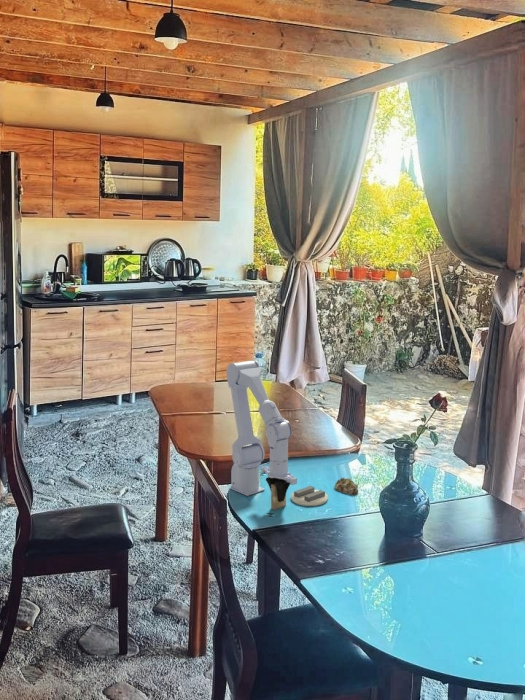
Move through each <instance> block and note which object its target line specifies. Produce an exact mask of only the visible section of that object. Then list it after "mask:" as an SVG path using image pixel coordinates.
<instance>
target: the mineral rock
mask: <svg viewBox="0 0 525 700" xmlns="http://www.w3.org/2000/svg"><path fill="white" fill-rule="evenodd" d="M333 487H334V490H336V491H337V492H339V493H340V492H341V493H344V494H346V495H354V496H355V495H358V493H359V489H358V484H356V483H355V482H354V481H353V480H351V478H349V477H347V478H345V477H341V478H340V479H338V480H337V481H336V482H335V485H334V486H333Z"/></svg>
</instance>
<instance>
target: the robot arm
mask: <svg viewBox="0 0 525 700" xmlns="http://www.w3.org/2000/svg"><path fill="white" fill-rule="evenodd" d="M225 372H226V374H225V375H226V378H227V385H228V388H230V392H231V399H232V406H233V411H234V418H235V424H236V431H237V438H236V440H235V441H233V443H232V444H231V447H232V453H231V459H232V462H233V465H232V467H231V471H230V473H231V476H230V477H231V479H230V481H231V486H229V489H230V490H232V491H235V492H238V493H239V494H242V495H244V496H246V497H247V496H248V497H249V496H251V495H255V494H258V493H259V492H263V491H265V488H264V487H262V486H260V473H261V474H266V475H267V477H266V478H265V481H266V482H267V485H268V487H269V489H270V491H271V484H274V483H275V485H276V488H277V496H278V501H279V502H281V501H284V499H285V495H286V496H287V491H288V489H289V487H290V485H291V486H294V485H297V484H298V478H297V477H296V476H294V475H293V474H292V473H290V472H289V439H290V438H291V437H292V436H293V435H292V434H293V429H292V428H293V427H292V426H291V423H290V422H289V420H286V418H285V417H283V416H282V414H281V412H280V411H279V409H278V407H277V405H276V403H275V402H274V401H273V400H270V399H269V396H268V393H267V391H266V389H265V385H264V384H263V381H262V379H261V376H262V369H261V366H260V363H259V362H258V360H255V359H251V360H246V361H238V362H230V363H228V366H227V368H226V371H225ZM248 388H249V390H250V391H251V393H252V395H253V397H254V398H255V400H256V402H257V403H258V405H259V406H258V410H257V411H258V413H259V414H260V415H259V416H261V418H262V421H263V423H264V425H265V426H266V430H265V436H266V437H267V443H268V446H269V465H268V466H267V465H264V466H261V467H260V465H262V462H263V461H264V460H265V449H264V447H263V444H262V440H261V439H260V438H258V437H256V435H254V434H255V433H254V430H253V428H254V427H253V422H252V416H251V409H250V404H249V396H248ZM260 469H261V470H260Z"/></svg>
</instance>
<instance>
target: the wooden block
mask: <svg viewBox="0 0 525 700" xmlns="http://www.w3.org/2000/svg"><path fill="white" fill-rule="evenodd" d="M270 493H271V494H270V509H272V510H274V511H276V510H278V509H281V508H284V507H286V506H287V494H286V495H285V499H284V501H281V502H279V501H278V496H277V488H276V485H275V483H274V484H271V490H270Z"/></svg>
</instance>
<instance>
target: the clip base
mask: <svg viewBox="0 0 525 700" xmlns="http://www.w3.org/2000/svg"><path fill="white" fill-rule="evenodd" d="M328 498H329V495H328V494H327V493H326V491H325V490H322V489H315V487H314V486H311V485H308V486H306V487H303V488H300V489H297V490H295V491H293V492H292V493H291V494H290V499H291V502H292V503H294V504H296V505H299V506H304V507H317V506H322V505H324V504H326V503H327V502H328V500H329V499H328Z"/></svg>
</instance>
